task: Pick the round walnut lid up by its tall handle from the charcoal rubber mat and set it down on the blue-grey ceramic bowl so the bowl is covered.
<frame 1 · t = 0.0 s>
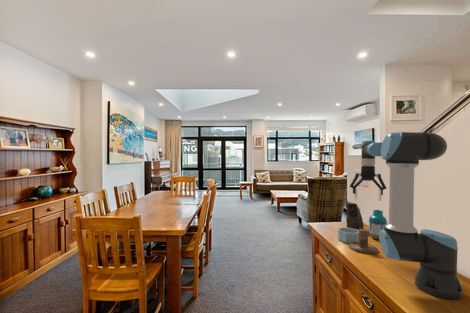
hand: (367, 199, 151), 28 cm above the sideboard, fingers open, 13 cm apart
mat: (363, 249, 142), on the sideboard
owl: (355, 228, 186), on the sideboard
vase: (377, 239, 162), on the sideboard
lid: (363, 248, 142), point 1 cm above the sideboard, touching mat
bowl: (348, 241, 157), on the sideboard
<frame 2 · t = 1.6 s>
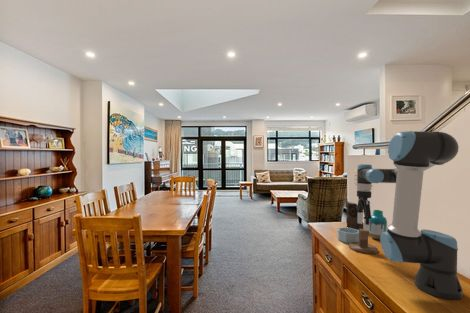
hand: (363, 226, 142), 14 cm above the sideboard, fingers open, 13 cm apart
nothing on the sideboard moved.
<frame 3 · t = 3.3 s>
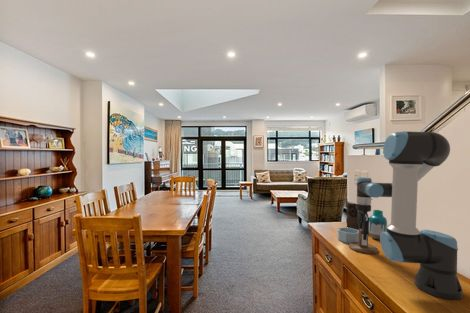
hand: (363, 243, 142), 4 cm above the sideboard, fingers closed on lid, 4 cm apart
lid: (363, 248, 142), point 1 cm above the sideboard, touching gripper, mat
everything else where it was.
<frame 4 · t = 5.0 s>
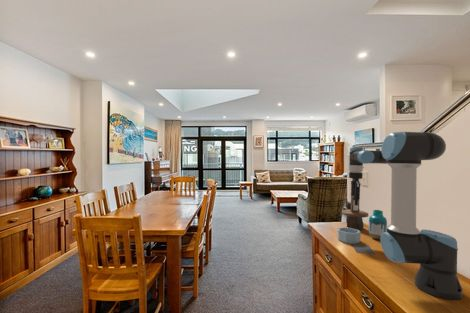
hand: (354, 209, 151), 22 cm above the sideboard, fingers closed on lid, 4 cm apart
lid: (354, 214, 151), point 19 cm above the sideboard, touching gripper
everything else where it was.
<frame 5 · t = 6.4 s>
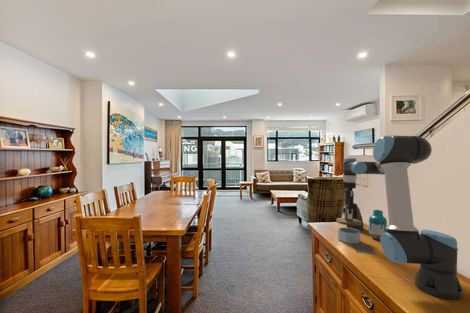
hand: (348, 217, 157), 15 cm above the sideboard, fingers closed on lid, 4 cm apart
lid: (348, 222, 157), point 12 cm above the sideboard, touching gripper
everything else where it was.
when the fingers open (12 cm above the sideboard, at t = 7.2 s): lid drops 2 cm, resting on bowl.
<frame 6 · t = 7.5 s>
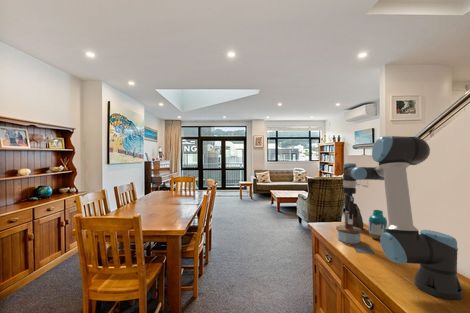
hand: (348, 222, 157), 12 cm above the sideboard, fingers open, 7 cm apart
lid: (348, 230, 157), point 7 cm above the sideboard, touching bowl
everything else where it was.
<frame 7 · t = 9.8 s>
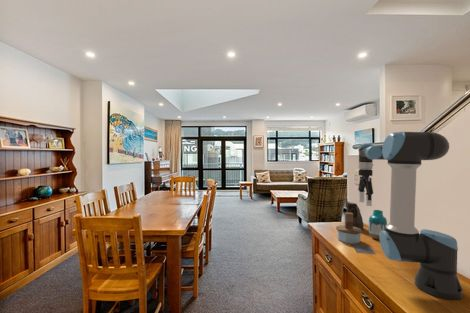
hand: (365, 203, 148), 26 cm above the sideboard, fingers open, 13 cm apart
nothing on the sideboard moved.
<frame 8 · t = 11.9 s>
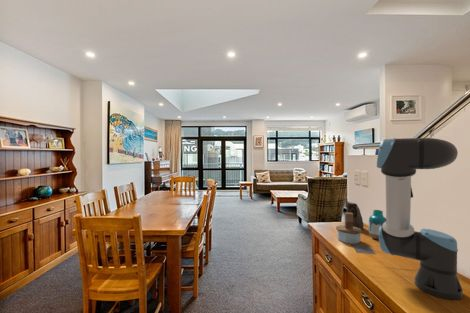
hand: (401, 207, 134), 27 cm above the sideboard, fingers open, 13 cm apart
nothing on the sideboard moved.
at the end: lid inside the target area on the bowl (0.1 cm from its centre), point 7.0 cm above the bowl's base; the gripper is holding nothing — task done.
